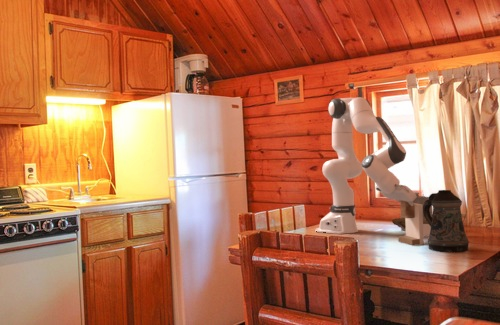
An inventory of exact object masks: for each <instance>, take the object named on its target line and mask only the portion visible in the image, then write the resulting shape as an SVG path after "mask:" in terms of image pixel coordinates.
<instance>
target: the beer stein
mask: <svg viewBox="0 0 500 325" xmlns="http://www.w3.org/2000/svg"><path fill="white" fill-rule="evenodd" d="M428 197H429V200H426V201H425V202H424V205H423V214H424V217H425V219H426V221H427V222H428V224H429V225H430V226H431V230H430V235H429V236H428V238H427V245H428V249H429V250H430V251H433V252H439V253H451V252H452V253H453V254H454V252H455V253H465V252H467V251H469V244H470V241H469V239H468V237H467V234H466V231H465V226H464V222H463V220H464V219H463V218H462V209H461V208H462V204H463V200H461V198H460V197H458V196H457V195H455V194H454V193H453V191H452V190H451V189H440V190H438V192H435V193H433V192H432V193H431V194H429V196H428ZM430 206H432V217H431V215H430V211H429V210H430Z"/></svg>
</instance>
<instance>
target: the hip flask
mask: <svg viewBox="0 0 500 325" xmlns="http://www.w3.org/2000/svg"><path fill="white" fill-rule="evenodd" d="M414 193H415V194H416V196H417V197H416V199H415V200H414V203H416V204H423V205H424V202H425V201H426V200H429V196H424V195H423V196H422V195H420V192H415V191H414ZM429 211H430V215H431V217H432V214H433V206H430V210H429ZM400 218H403V217H401V216H400ZM423 218H425V217H424V214H423ZM400 230H401V232H406V230H405V229H403V228H400Z"/></svg>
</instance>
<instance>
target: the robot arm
mask: <svg viewBox="0 0 500 325" xmlns="http://www.w3.org/2000/svg"><path fill="white" fill-rule="evenodd" d="M327 110H328V111H327V112H328V115H329V116H330V117H331V118H332V123H331V124H332V125H331V147H332V149H333V150H334V151H335V152H336V154H337V157H338V158H333V159H330V160H327V161H325V162H324V163H323V165H322V169H321V170H322V174H323V176H324V177H325V179H327V181H328V183H329V184H330V186H331V191H332V204H331V206H329V207H328V208H329V212H328V213H327V214H326V215H325V216H324V217H322V218H321V219H320V221H319V227H317V228H315V232H316V231H317V232H316V233H323V232H326V234H336V235H343V234H353V233H354V234H355V233H358V232H359V229H358V227H357V226H358V225H357V222H356V214H357V213H356V204H355V192H354V189H353V188H352V187H351V186H350V184H349V182H348V180H349V179H355V178H356V177H360V176H361V175H362V172H364V173H365V175H366V176H368V177H369V179H370V180H371V181H372V182H374V183H375V184H376V186H375V190H376V191H378V192H379V193H381V194H382V196H384V198H386V199H389V200H395V201H397V202H399V203H400V204H401V201H407V202H408V204H409V205H410V206H413V205H414V203H413V201H414V200H415V199H416V197H417V196H416V194H415V191H413V190H412V189H411V188H410V187H409V186H407V185H406V184H405V185H404V184H400V182H401V181H400V179H398V177H397V176H396V175H395V174H394V173H393V172H392V171H391V170H389V169H390V168H392V167H394V166H395V165H398V164H400V163H401V162H403V161H405V159H406V156H407V151H406V148H405V147H404V146H403V144H402V143H401V142H400V141H399V140H398V138H397V137H396V135H395V134H394V132H393V131H392V130H391V128H390V126H389V125H388V124H387V122H386V121H385V119H383V118H382V117H380V116H376V115H375V114H374V111H373V109H372V107H371V103H370V101H369V100H368V99H367V98H364V97H362V96H361V97H360V96H359V97H358V96H357V97H343V98H339V97H337V98H333V99H331V100H330V102H329V103H328V108H327ZM353 127H354V128H353ZM354 129H355V131H356V132H357V133H359V134H365V135H369V134H374V133H381V136H382V137H383V138H384V140H385V142H386V144H385V145H384V146H383V147H381V148H379V149H378V150H376V151H374V152H373V153H372V154H371V153H370V154H368V155H367V156H365V157H364V158H363V160H362V161H360V160H359V159H358V157H357V155H356V152H355V148H354Z"/></svg>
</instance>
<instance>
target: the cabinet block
mask: <svg viewBox="0 0 500 325" xmlns="http://www.w3.org/2000/svg"><path fill="white" fill-rule="evenodd" d="M413 203H414V201H413ZM401 217H403V218H415V216H414V205H413V206H410V205H409V204H408V202H407V201H401V203H400V218H401Z"/></svg>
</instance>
